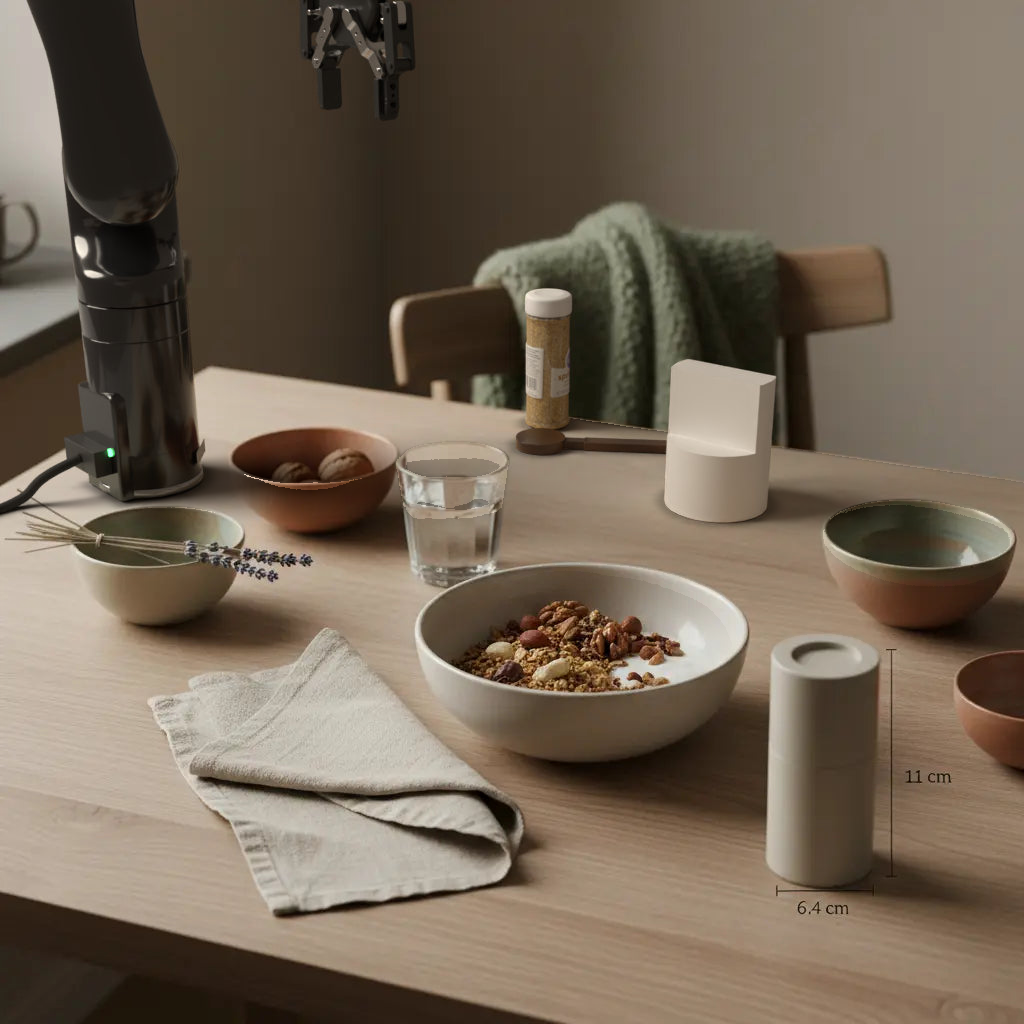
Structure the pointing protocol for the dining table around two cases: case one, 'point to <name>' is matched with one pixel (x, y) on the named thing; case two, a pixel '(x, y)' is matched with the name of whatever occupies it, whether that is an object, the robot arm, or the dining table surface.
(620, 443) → the spoon
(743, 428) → the base with upright slab
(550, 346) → the spice jar
